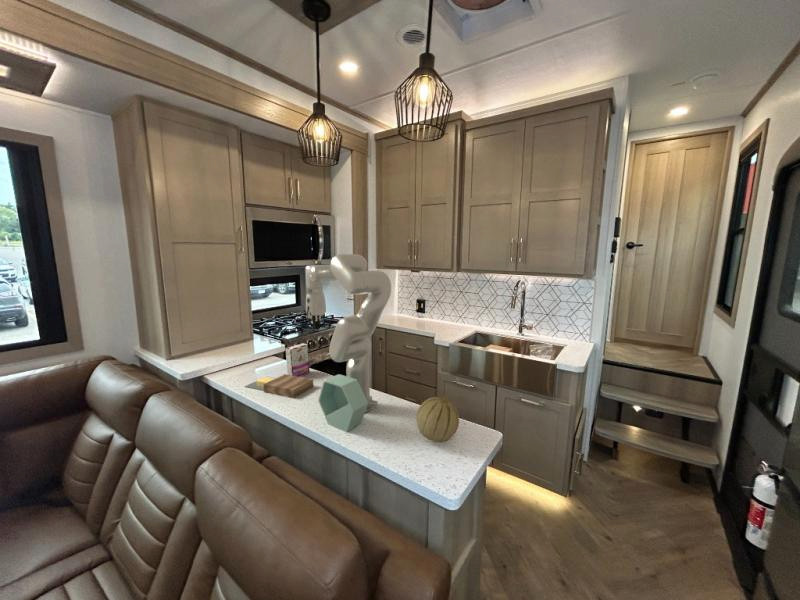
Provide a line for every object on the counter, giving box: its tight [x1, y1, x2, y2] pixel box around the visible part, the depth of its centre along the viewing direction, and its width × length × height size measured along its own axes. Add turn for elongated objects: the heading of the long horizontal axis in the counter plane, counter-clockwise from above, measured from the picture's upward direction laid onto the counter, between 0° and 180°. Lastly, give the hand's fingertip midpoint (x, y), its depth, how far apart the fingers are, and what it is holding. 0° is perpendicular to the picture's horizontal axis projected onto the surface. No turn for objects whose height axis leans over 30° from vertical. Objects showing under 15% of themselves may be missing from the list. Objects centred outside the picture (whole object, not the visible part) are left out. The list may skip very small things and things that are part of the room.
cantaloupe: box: [415, 396, 460, 443], centre depth 113 cm, size 15×15×15 cm
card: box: [255, 376, 276, 387], centre depth 163 cm, size 9×6×2 cm, turn 66°
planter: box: [317, 373, 368, 433], centre depth 124 cm, size 17×8×21 cm
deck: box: [263, 373, 314, 399], centre depth 158 cm, size 18×14×4 cm
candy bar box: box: [285, 343, 310, 377], centre depth 176 cm, size 11×5×16 cm, turn 143°
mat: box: [244, 376, 277, 392], centre depth 165 cm, size 14×14×1 cm
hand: (316, 328), depth 158 cm, fingers closed
